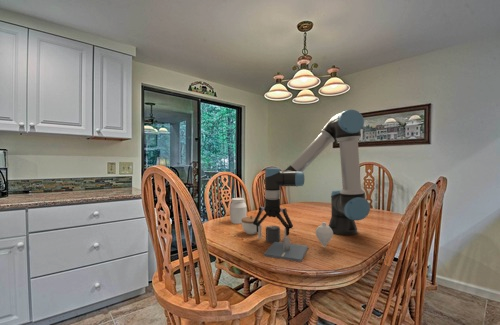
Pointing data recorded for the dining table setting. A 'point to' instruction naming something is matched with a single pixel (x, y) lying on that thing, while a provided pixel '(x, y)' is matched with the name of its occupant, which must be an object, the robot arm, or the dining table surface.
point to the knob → (272, 234)
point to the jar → (237, 210)
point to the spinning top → (324, 234)
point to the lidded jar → (249, 225)
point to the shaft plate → (286, 250)
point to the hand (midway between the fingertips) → (272, 240)
